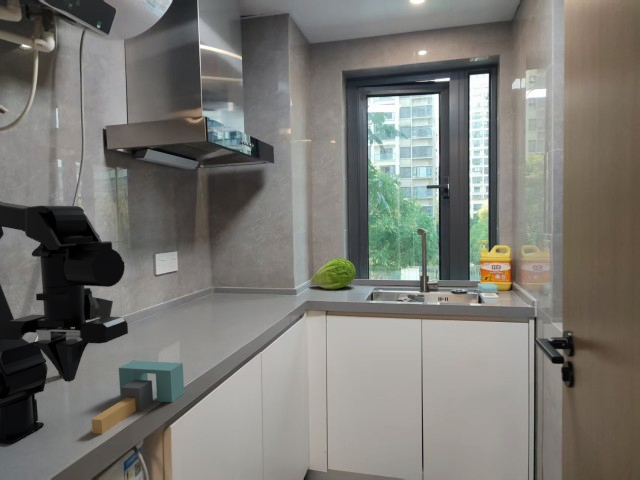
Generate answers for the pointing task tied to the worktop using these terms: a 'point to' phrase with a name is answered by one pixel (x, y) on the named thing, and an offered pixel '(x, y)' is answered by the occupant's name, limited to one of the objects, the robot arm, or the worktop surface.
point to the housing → (166, 377)
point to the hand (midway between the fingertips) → (69, 380)
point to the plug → (125, 405)
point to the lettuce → (335, 274)
